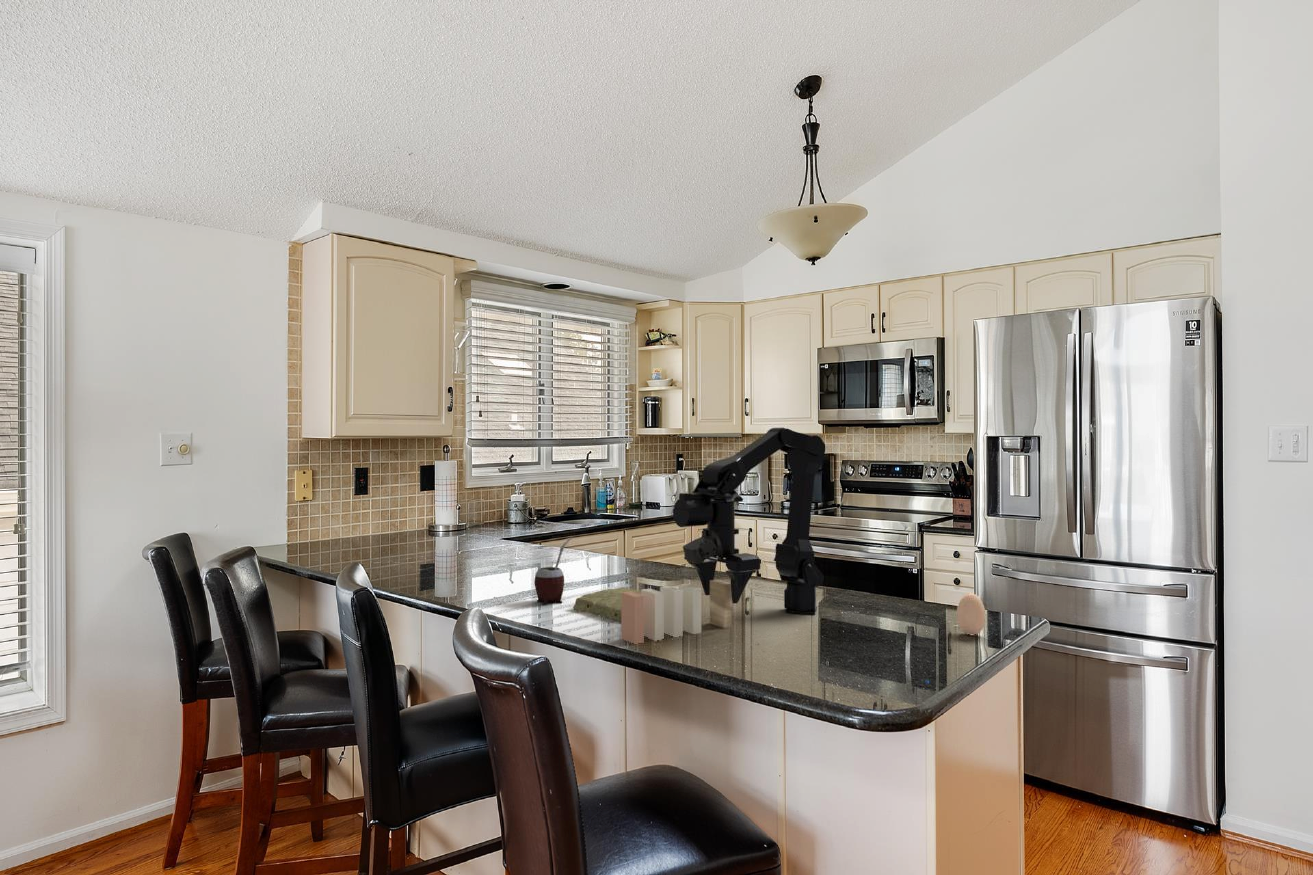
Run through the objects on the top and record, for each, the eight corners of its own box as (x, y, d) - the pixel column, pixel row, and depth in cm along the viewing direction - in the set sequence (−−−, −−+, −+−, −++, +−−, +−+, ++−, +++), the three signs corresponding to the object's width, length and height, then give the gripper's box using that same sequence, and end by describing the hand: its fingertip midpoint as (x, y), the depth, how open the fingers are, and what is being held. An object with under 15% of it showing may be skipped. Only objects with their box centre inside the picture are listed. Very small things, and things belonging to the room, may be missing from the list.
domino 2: (649, 633, 143) (649, 588, 143) (663, 639, 139) (663, 592, 139) (641, 635, 142) (641, 589, 142) (655, 641, 138) (655, 594, 138)
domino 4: (686, 627, 148) (686, 583, 148) (701, 632, 144) (701, 587, 144) (678, 628, 147) (678, 584, 147) (693, 634, 143) (693, 588, 143)
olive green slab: (620, 598, 178) (620, 584, 178) (687, 610, 165) (687, 594, 165) (566, 613, 163) (566, 597, 163) (635, 627, 151) (635, 610, 151)
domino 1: (630, 637, 141) (630, 591, 141) (643, 643, 137) (643, 595, 137) (621, 638, 140) (621, 592, 140) (634, 644, 136) (634, 596, 136)
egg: (983, 640, 138) (983, 597, 138) (954, 636, 141) (954, 594, 141) (987, 633, 143) (987, 592, 143) (959, 630, 146) (959, 589, 146)
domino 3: (668, 630, 146) (668, 586, 146) (682, 636, 142) (682, 590, 142) (660, 632, 145) (660, 587, 145) (674, 637, 140) (674, 591, 141)
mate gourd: (529, 604, 169) (529, 540, 169) (543, 597, 177) (543, 536, 177) (559, 606, 167) (559, 541, 167) (571, 599, 175) (571, 537, 175)
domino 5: (717, 622, 153) (717, 579, 153) (732, 627, 148) (732, 583, 149) (709, 623, 152) (709, 580, 152) (724, 628, 147) (724, 584, 147)
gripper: (663, 522, 154) (663, 595, 153) (717, 531, 138) (718, 613, 138) (705, 519, 160) (705, 589, 160) (762, 527, 144) (762, 605, 144)
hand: (721, 599), depth 150 cm, fingers open, 9 cm apart
